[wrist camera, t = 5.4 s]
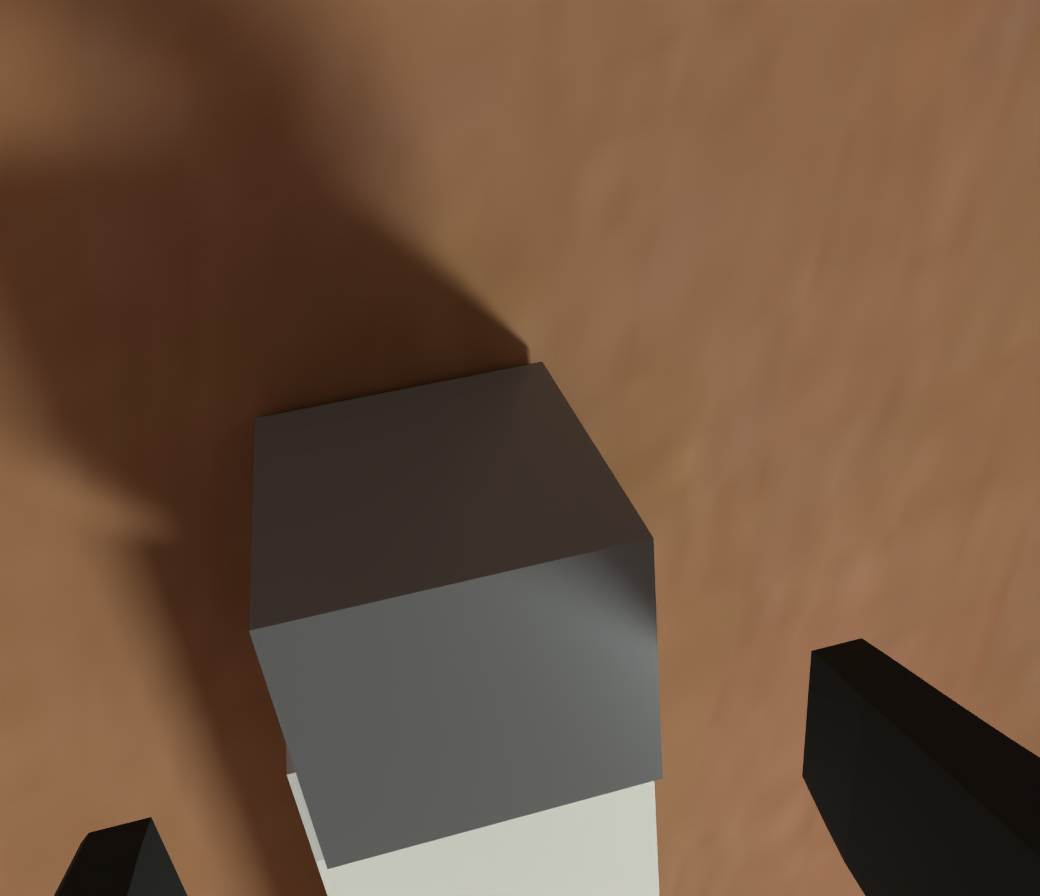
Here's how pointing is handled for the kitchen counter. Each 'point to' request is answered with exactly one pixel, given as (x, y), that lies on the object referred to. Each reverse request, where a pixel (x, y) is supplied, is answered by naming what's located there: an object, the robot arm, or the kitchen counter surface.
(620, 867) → the power strip
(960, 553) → the kitchen counter surface
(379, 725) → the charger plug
